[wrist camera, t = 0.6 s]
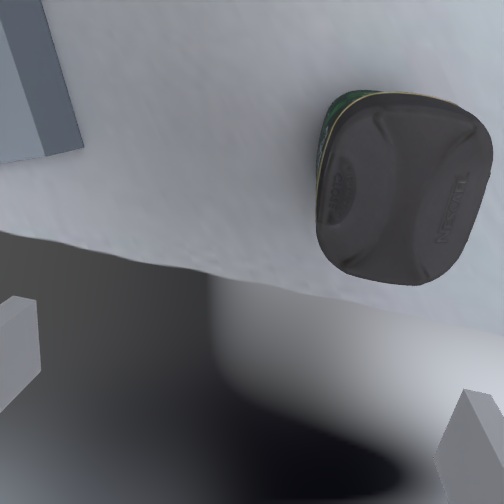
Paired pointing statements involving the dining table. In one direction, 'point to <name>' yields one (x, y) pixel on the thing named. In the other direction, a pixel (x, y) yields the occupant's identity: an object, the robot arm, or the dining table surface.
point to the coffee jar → (398, 184)
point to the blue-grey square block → (32, 87)
